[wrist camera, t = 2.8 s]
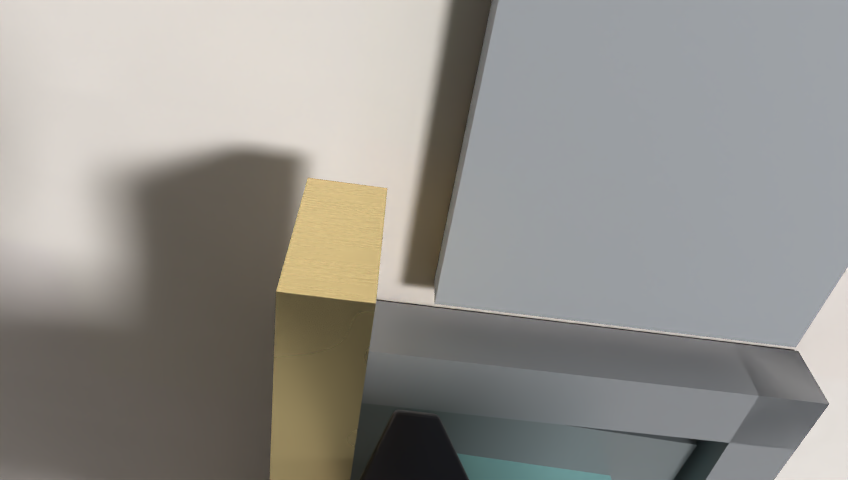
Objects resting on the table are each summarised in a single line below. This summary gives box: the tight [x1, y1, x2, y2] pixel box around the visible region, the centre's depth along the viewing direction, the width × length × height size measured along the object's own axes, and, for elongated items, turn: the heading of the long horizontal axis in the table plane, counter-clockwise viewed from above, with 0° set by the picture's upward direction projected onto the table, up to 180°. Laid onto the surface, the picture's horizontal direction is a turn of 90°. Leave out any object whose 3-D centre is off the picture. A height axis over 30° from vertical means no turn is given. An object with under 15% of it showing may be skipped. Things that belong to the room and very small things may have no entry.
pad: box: [434, 0, 848, 347], centre depth 10 cm, size 6×6×1 cm
